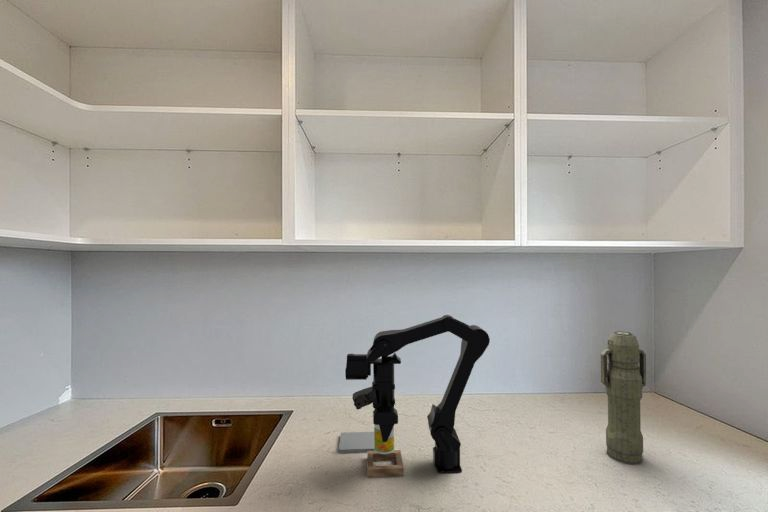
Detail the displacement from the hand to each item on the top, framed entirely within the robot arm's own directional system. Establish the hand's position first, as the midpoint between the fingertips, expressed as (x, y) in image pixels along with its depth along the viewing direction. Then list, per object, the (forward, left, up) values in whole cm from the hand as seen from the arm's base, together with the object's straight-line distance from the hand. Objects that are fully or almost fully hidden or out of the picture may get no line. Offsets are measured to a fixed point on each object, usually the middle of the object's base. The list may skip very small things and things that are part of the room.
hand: (384, 436), depth 104 cm
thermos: (-68, -1, -8) cm, 69 cm away
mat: (+7, -14, -8) cm, 17 cm away
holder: (0, 0, -8) cm, 8 cm away
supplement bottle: (0, 0, -4) cm, 4 cm away
